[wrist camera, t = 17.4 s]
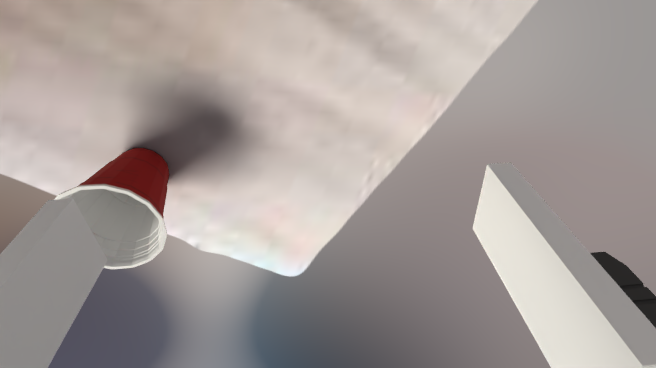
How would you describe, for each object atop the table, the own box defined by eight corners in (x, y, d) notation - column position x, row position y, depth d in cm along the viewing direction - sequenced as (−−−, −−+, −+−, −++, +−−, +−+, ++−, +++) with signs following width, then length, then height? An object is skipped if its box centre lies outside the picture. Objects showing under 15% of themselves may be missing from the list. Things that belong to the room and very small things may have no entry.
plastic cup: (204, 194, 49) (181, 262, 39) (125, 207, 50) (83, 278, 40) (171, 120, 43) (134, 179, 33) (81, 136, 43) (18, 199, 34)
